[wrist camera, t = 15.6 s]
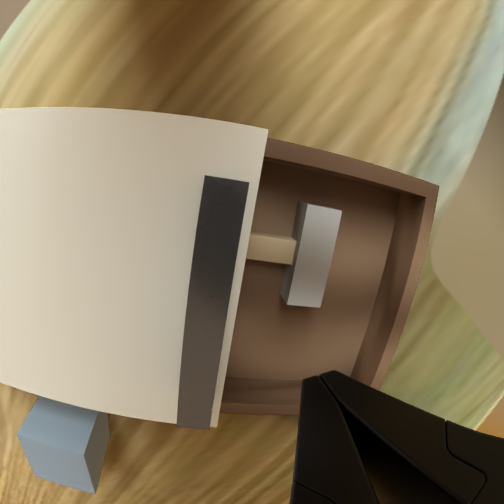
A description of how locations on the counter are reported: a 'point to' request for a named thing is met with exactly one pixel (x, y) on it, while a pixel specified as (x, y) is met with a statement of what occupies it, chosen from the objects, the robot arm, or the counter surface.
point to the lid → (123, 256)
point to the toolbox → (324, 275)
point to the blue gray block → (65, 443)
